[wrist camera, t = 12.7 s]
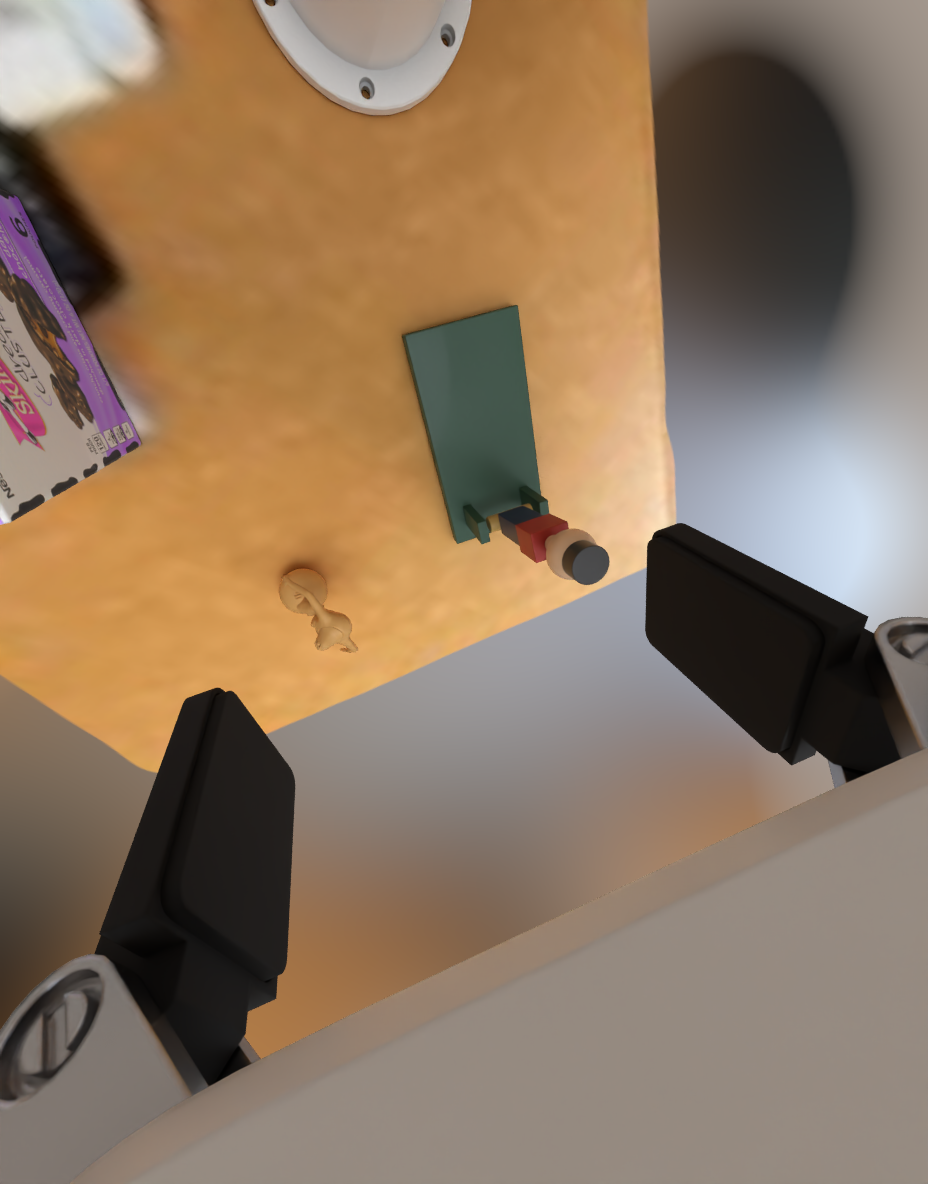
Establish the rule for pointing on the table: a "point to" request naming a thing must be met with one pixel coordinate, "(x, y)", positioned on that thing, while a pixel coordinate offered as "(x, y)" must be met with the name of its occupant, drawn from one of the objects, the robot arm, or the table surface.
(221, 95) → the table surface
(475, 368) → the stand
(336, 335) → the table surface
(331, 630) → the figurine
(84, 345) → the candy box
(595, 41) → the table surface
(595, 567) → the toy soldier
